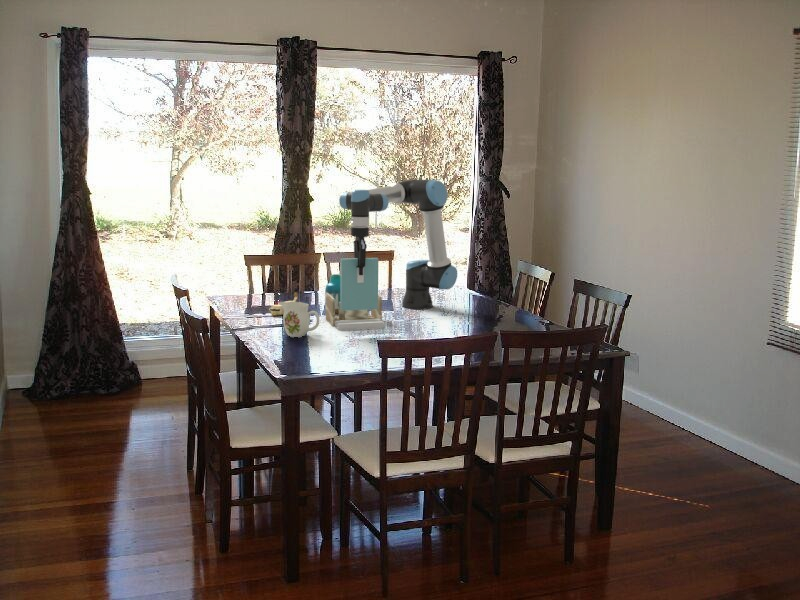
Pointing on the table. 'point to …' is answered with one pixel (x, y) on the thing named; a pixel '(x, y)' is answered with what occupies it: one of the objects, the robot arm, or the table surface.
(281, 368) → the table surface
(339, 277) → the vase
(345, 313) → the offcut short
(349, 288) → the teal rectangular panel
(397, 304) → the table surface
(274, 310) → the cat figure
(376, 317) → the rack
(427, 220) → the robot arm
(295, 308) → the white floral mug
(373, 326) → the stand
